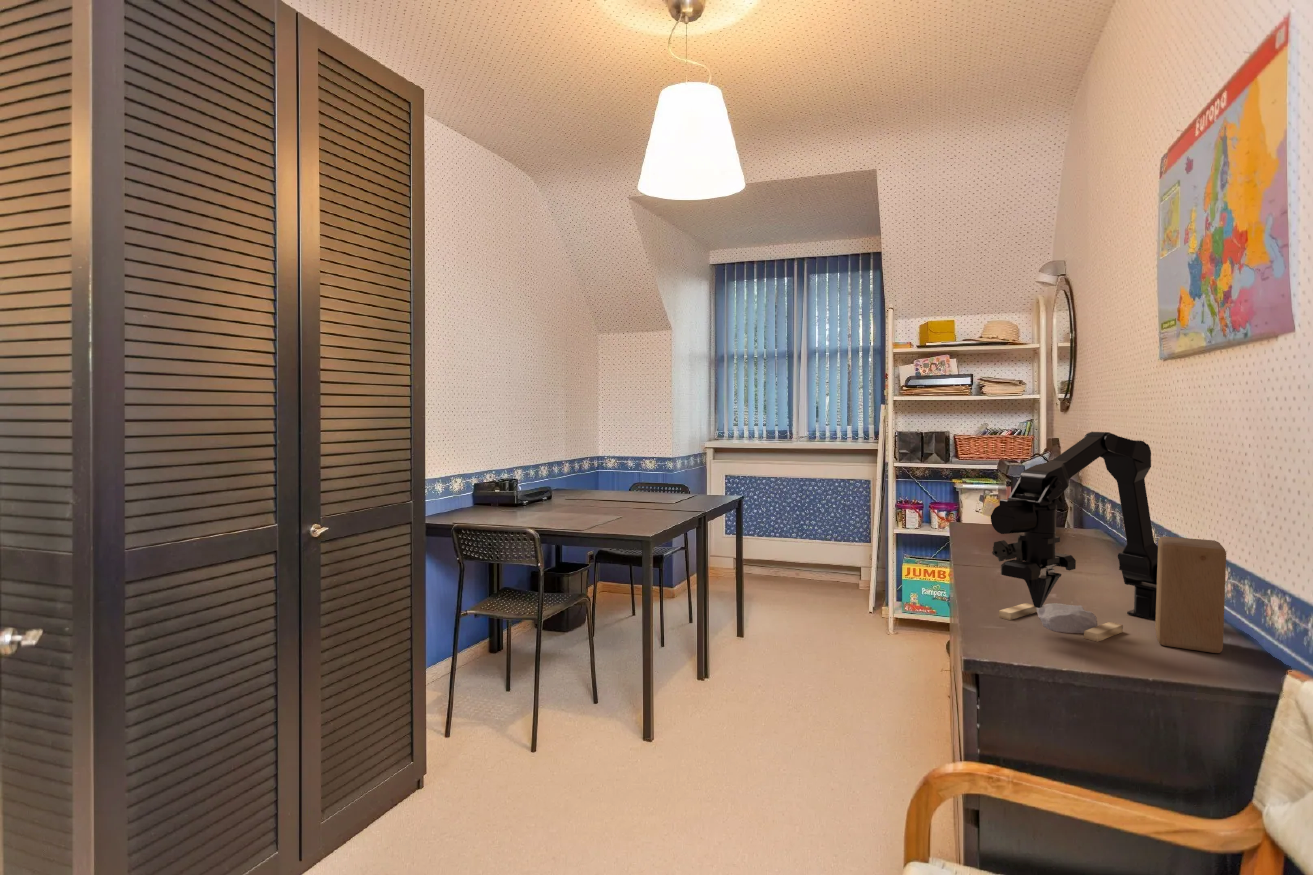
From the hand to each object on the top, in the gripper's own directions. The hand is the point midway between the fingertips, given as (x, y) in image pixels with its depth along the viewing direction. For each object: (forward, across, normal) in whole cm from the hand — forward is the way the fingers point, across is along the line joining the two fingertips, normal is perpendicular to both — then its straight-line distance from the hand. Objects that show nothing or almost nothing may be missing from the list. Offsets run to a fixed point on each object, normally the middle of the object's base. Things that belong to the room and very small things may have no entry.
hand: (1037, 607), depth 148 cm
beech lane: (+5, -9, 0) cm, 10 cm away
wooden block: (+5, -17, +20) cm, 27 cm away
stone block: (+6, -10, 0) cm, 11 cm away
